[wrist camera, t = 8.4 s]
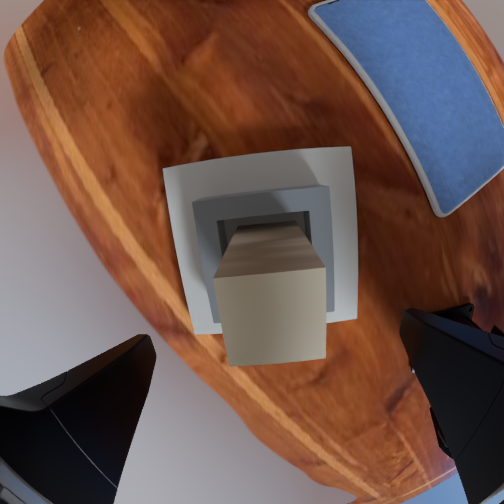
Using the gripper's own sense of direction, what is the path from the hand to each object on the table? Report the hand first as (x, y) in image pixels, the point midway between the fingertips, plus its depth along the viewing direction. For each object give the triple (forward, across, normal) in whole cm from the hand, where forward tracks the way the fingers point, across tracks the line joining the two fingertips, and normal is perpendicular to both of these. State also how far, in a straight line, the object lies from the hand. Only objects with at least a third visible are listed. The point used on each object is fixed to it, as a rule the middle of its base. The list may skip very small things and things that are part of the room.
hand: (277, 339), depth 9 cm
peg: (+10, 0, 0) cm, 10 cm away
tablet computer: (+12, -15, -12) cm, 22 cm away
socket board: (+11, 0, -1) cm, 11 cm away
